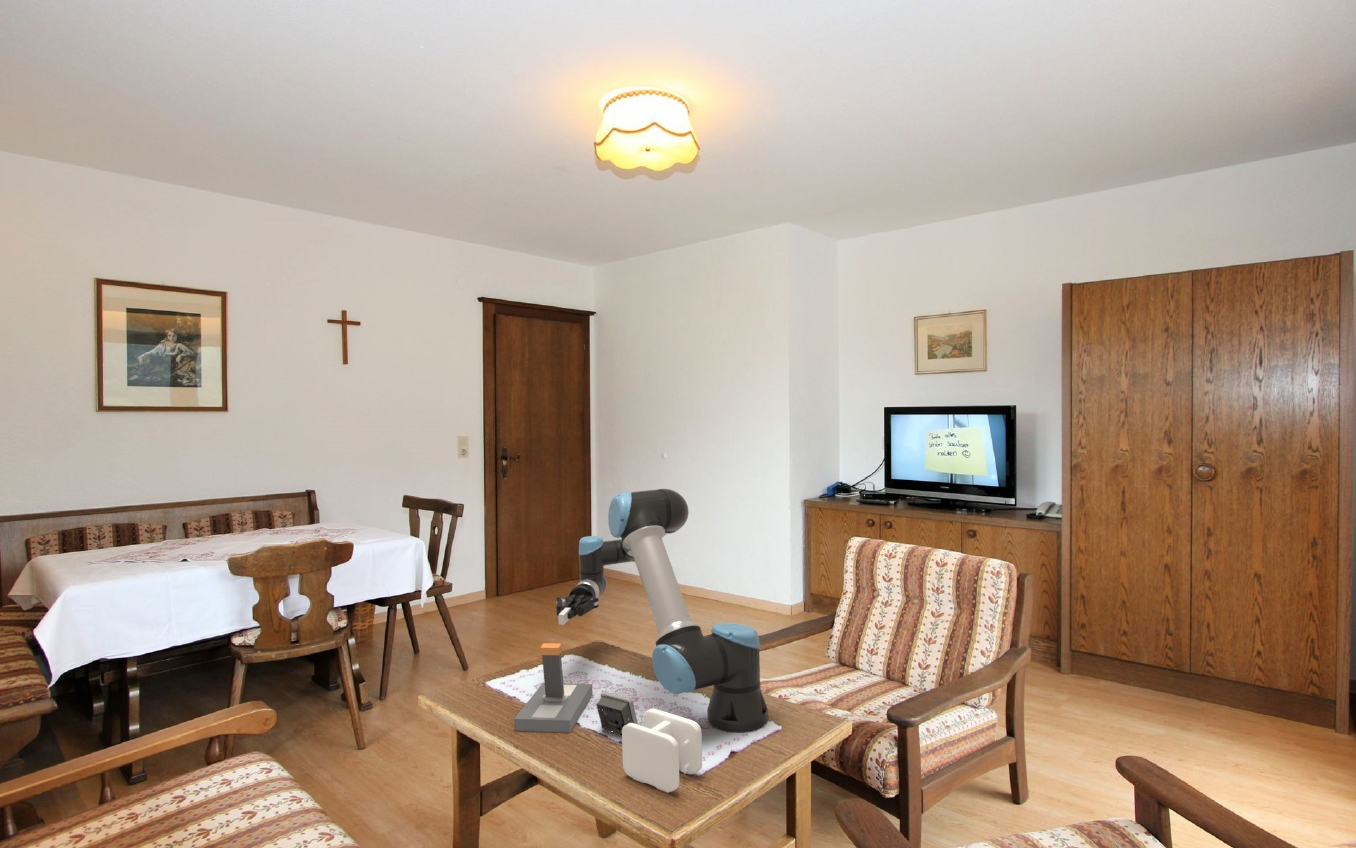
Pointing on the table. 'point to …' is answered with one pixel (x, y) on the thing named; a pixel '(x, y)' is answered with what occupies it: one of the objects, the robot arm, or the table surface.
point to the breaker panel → (554, 709)
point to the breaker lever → (552, 670)
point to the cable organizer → (661, 749)
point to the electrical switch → (615, 712)
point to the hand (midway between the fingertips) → (561, 619)
